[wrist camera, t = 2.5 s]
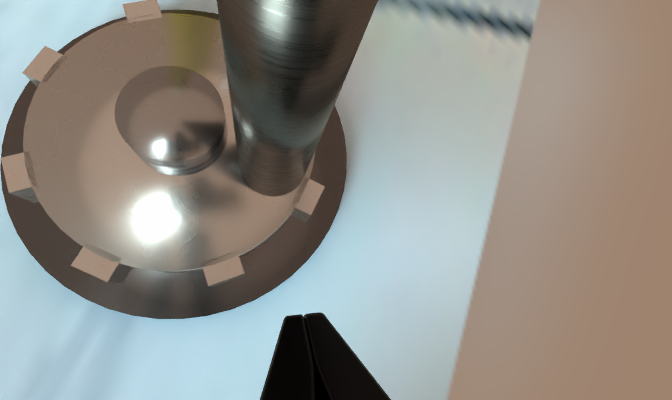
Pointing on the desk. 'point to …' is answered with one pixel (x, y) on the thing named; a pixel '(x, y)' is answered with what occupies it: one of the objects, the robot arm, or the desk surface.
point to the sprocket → (185, 131)
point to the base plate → (179, 288)
